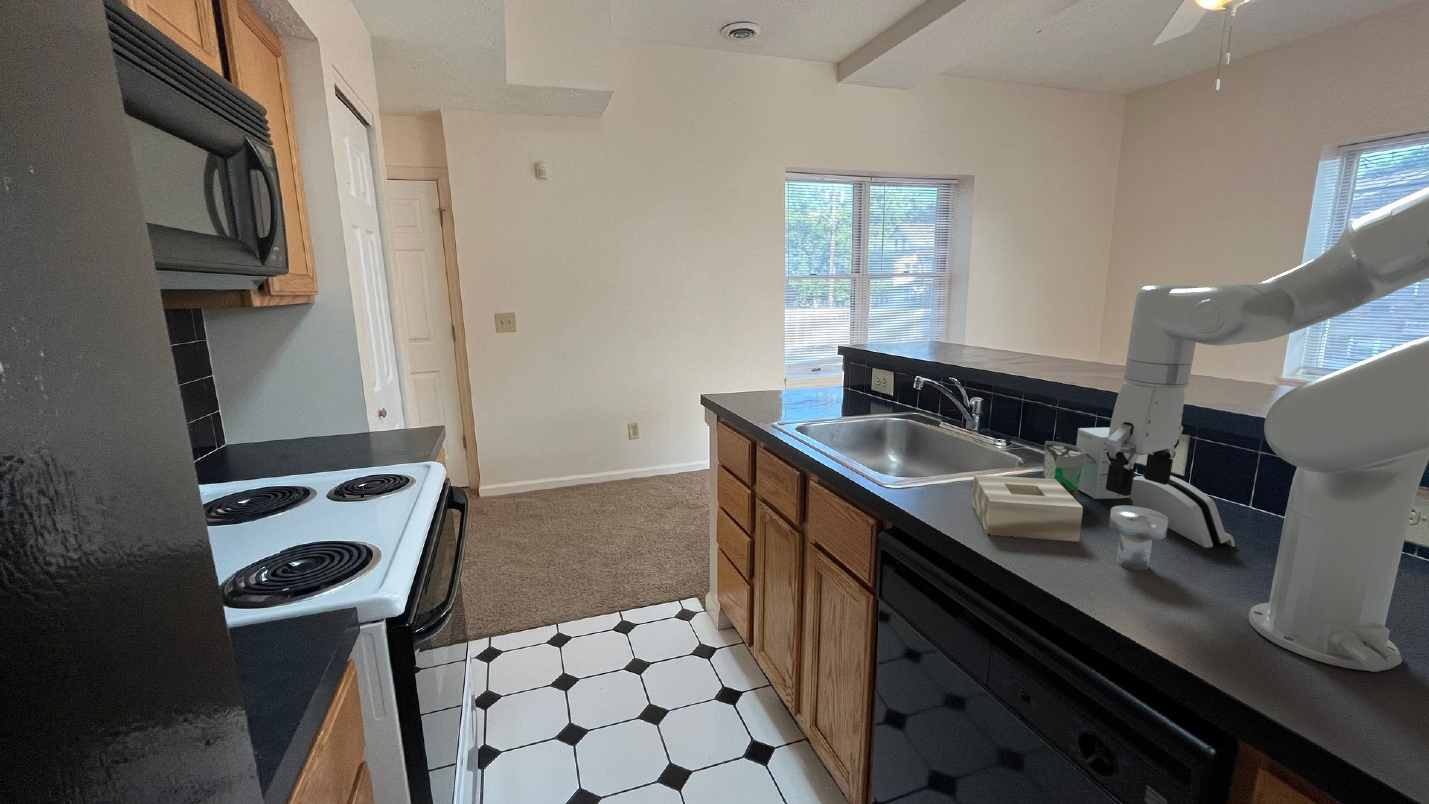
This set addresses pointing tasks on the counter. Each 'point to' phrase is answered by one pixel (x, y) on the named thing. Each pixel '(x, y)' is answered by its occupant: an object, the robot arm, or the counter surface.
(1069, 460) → the food container
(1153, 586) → the counter surface
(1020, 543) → the counter surface
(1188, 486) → the white curved block
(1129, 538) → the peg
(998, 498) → the block
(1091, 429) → the supplement box
